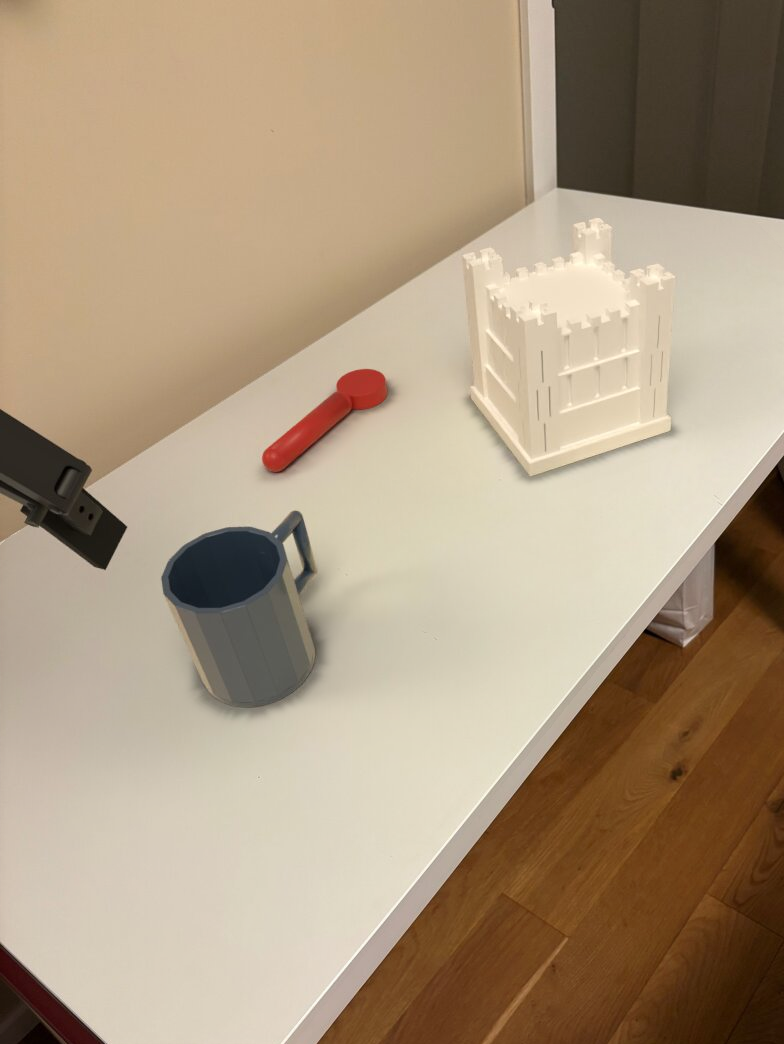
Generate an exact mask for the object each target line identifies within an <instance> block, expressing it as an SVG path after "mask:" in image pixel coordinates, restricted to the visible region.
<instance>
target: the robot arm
mask: <svg viewBox="0 0 784 1044" xmlns="http://www.w3.org/2000/svg"><path fill="white" fill-rule="evenodd" d="M92 472H93V468H91V466H90V465H88V464H87V463H86V461H84V460H83V459H80V458H78V457H77V456H75V455H73V454H72V453H70V452H68V451H67V450H65V449H64V448H62V447H61V446H59V445H58V444H56V443H54V442H53V441H52V440H50V439H48V438H47V437H45V436H43V435H42V434H41V433H39V432H37V431H35V430H34V429H33V428H31V427H30V426H28V425H26V423H24V422H21V421H20V420H18V419H17V418H15V417H14V416H12V415H11V414H9V413H8V412H6V411H4V410H3V409H2V408H0V494H1V495H3V496H4V497H6V498H8V499H11V500H12V501H15V502H17V503H18V504H21V505H22V507H21V508H20V510H19V512H20V513H22V514H23V515H24V516H25V517H26V518H25V520H24V522H23V524H26V525H28V526H30V527H33V528H40V527H41V529H42V530H45V532H47V533H49V534H50V535H51V536H52V537H54V538H55V539H56V540H58V541H59V542H60V543H62V544H63V545H64V546H66V547H67V548H68V549H70V550H71V551H72V552H74V553H75V554H76V555H78V556H79V557H81V559H83V560H85V562H87V563H89V564H90V565H91V566H92V567H94V568H97V569H100V570H103V571H106V569H107V568H108V566H109V565H110V563H111V561H112V559H113V557H114V555H115V552H116V551H117V548H118V547H119V544H120V543H121V540H122V539H123V537H124V535H125V533H126V531H127V529H128V525H126V524H125V523H124V522H123V521H122V520H120V518H118V517H117V516H116V515H115V514H114V513H113V512H112V511H110V510H109V509H108V508H107V507H106V506H105V505H104V504H102V503H101V502H100V501H99V500H98V499H96V497H94V496H93V495H92V494H91V493H90V492H88V491H87V490H86V489H85V488H84V486H85V485H86V483H87V481H88V479H89V477H90V475H91V474H92Z"/></svg>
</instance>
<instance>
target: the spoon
mask: <svg viewBox="0 0 784 1044" xmlns="http://www.w3.org/2000/svg"><path fill="white" fill-rule="evenodd" d="M335 387H336V391H334V392H333V393H331V394H330V395H329V396H328V397H327V398H326V399H324V400H323V401H322V402H321V403H320V404H318V405H317V406H316V407H314V409H313V410H311V411H309V412H308V414H306V415H305V416H304V417H302V419H300V420H299V421H298V422H297V423H296V424H294V425H293V426H292V427H290V429H288V430H287V431H286V432H285V433H283V435H281V436H280V437H279V438H278V439H276V440H275V441H274V442H273V443H272V444H270V445H269V446H268V447H267V448H265V449H264V451H263V453H262V456H261V461H262V465H263V466H264V468H265V469H266V470H268V471H270V472H272V473H273V472H274V473H278V472H281V471H283V470H284V469H286V467H288V466H289V465H290V464H291V463H292V462H293V461H295V459H297V458H298V457H299V456H301V454H303V453H304V452H305V451H306V450H307V449H309V448H310V447H311V446H312V445H313V444H314V443H315V442H317V441H318V440H319V439H320V438H322V437H323V435H325V434H326V433H327V432H328V431H329V430H331V428H333V427H334V426H336V424H338V423H339V422H340V421H341V420H342V419H343V418H344V417H345V416H347V415H348V414H349V413H350V412H351V410H366V409H370V408H374V407H376V406H378V405H380V404H381V403H383V402H384V401H385V399H387V396H388V387H387V381H386V376H385V375H384V374H383V373H382V372H381V371H379V370H378V369H372V368H361V369H354V370H352V371H349V372H346V373H345V374H344V375H342V376H341V377H339V379H338V380H337V382H336V385H335Z"/></svg>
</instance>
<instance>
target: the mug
mask: <svg viewBox="0 0 784 1044" xmlns="http://www.w3.org/2000/svg"><path fill="white" fill-rule="evenodd" d="M291 535H292V537H293V542H294V544H295V547H296V551H297V554H298V558H299V562H300V564H301V567H302V569H301V570H300V571H299V572H298V574H297V575H296V576H295V577H294V575H293V571H292V567H291V565H290V563H289V559H288V555H287V552H286V549H285V546H284V543H285V542H286V540H287V539H288V538H289V537H290V536H291ZM317 574H318V566H317V563H316V559H315V555H314V552H313V548H312V545H311V540H310V538H309V533H308V529H307V526H306V523H305V519H304V515H303V513H302V512H301V511H299V510H295V509H294V510H292V511H290V512H289V513H288V514H287V516H285V517H284V519H283V520H281V522H280V523H279V524H278V525H277V526H276V527H275V529H274V530H273V531H272V532H270V531H267V530H264V529H260V528H257V527H253V526H225V527H223V528H219V529H215V530H211V531H208V532H205V533H202V534H200V535H199V536H197V537H195V538H193V539H192V540H190V541H188V542H187V543H185V544H183V545H182V546H181V547H180V548H179V549H178V550H177V551H176V552H175V553H174V554H173V555H172V556H171V557H170V558H169V559H168V561H167V563H166V565H165V567H164V570H163V572H162V575H161V576H160V577H161V578H160V581H161V587H162V593H163V594H162V595H163V596H164V598H165V601H166V603H167V605H168V606H169V610H170V612H171V614H172V616H173V618H174V621H175V623H176V626H177V627H178V630H179V632H180V635H181V636H182V639H183V641H184V644H185V646H186V648H187V650H188V652H189V654H190V657H191V659H192V661H193V663H194V665H195V668H196V670H197V672H198V675H199V677H200V679H201V682H202V684H204V686H205V687H206V689H207V692H209V693H210V695H211V696H213V697H214V698H215V699H216V700H218V701H219V702H222V703H223V704H225V705H229V706H231V707H232V706H233V707H238V708H255V707H263V706H266V705H270V704H272V703H276V702H278V701H279V700H282V699H284V698H286V697H287V696H289V695H291V694H292V693H293V692H294V691H296V690H297V689H298V688H299V687H300V686H301V685H302V684H303V683H304V682H305V681H306V680H307V678H308V677H309V675H310V673H311V671H312V670H313V667H314V664H315V660H316V649H315V645H314V642H313V638H312V634H311V631H310V628H309V625H308V621H307V619H306V614H305V612H304V611H305V610H304V609H303V606H302V602H301V597H300V595H301V594H302V593H303V592H304V590H305V589H306V588H307V587H308V586H309V584H310V583H311V582H312V580H313V579H314V578H315V577H316V576H317Z"/></svg>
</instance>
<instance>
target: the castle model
mask: <svg viewBox="0 0 784 1044" xmlns="http://www.w3.org/2000/svg"><path fill="white" fill-rule="evenodd" d="M572 235H573V236H572V247H573V248H572V249H573V251H572V253H569V261H566V262H565V259H564V258H563V257H562V256H557V257H554V258H551V266H549V267H547V264H546V263H545V262H544V261H540V262H537V263H533V271H531V272H529V269H528V268H526V266H523V267H519V268H515V276H514V277H511V275H510V274H509V272H507V271H505V272H504V265H503V257H502V256H501V255H499V253H496V251H495V249H494V248H492V246H489V247H487V248H483V249H479V250H478V252H479V257H478V258H477V254H476V253H475V252H474V251H472V252H468V253H464V254H462V255H461V261H462V271H463V281H464V291H465V292H464V293H465V302H466V313H467V322H468V323H467V324H468V332H469V333H468V334H469V342H470V343H469V344H470V355H471V364H472V373H473V375H472V376H473V385H470V386H469V389H470V399H471V401H472V402H473V404H475V406H476V407H477V408H478V410H479V411H480V412H481V414H482V415H483V416H484V418H485V419H486V420H487V421H488V423H489V425H491V427H492V428H493V429H494V431H495V432H496V433H497V435H498V436H499V438H500V439H501V440H502V441H503V443H504V444H505V446H506V447H507V448H508V450H509V451H510V452H511V453H512V455H513V456H514V457H515V459H517V461H518V463H519V464H520V465H521V467H522V468H523V469H524V470H525V472H526V473H527V474H528V476H529V477H534V476H536V475H540V474H543V473H545V472H548V471H551V470H554V469H557V468H561V467H564V466H567V465H570V464H573V463H576V462H580V461H583V460H586V459H588V458H592V457H594V456H597V455H598V456H599V455H600V454H604V453H607V452H610V451H613V450H616V449H619V448H622V447H626V446H629V445H631V444H634V443H638V442H640V441H643V440H646V439H650V438H652V437H656V436H658V435H662V434H665V433H668V432H670V431H671V426H672V417H671V416H670V415H669V414H668V413H667V407H668V391H669V379H670V364H671V349H672V336H673V321H674V320H673V319H674V305H675V291H676V278H677V277H676V276H675V275H673V274H672V273H671V272H670V271H666V268H664V267H663V266H662V265H661V264H659V263H658V262H657V263H654V264H651V265H647V266H646V274H645V269H643V268H636V269H634V270H630V271H629V277H627V278H626V273H625V272H624V271H623V270H622V269H616V264H614V263H613V262H612V247H613V246H612V244H613V243H612V239H613V227H612V226H610V225H609V224H608V223H605V221H604V220H603V219H601V218H600V217H595V218H591V219H588V227H587V223H586V222H584V221H581V222H577V223H574V224H572Z"/></svg>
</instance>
